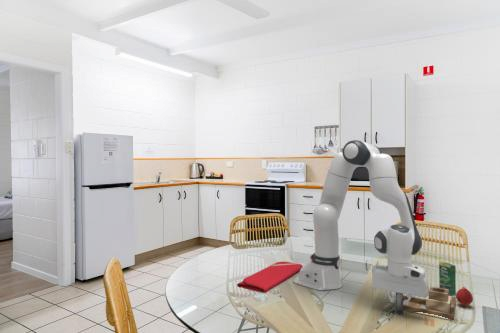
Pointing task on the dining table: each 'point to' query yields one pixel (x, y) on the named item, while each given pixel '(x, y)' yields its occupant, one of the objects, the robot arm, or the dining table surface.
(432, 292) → the crate
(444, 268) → the coffee box
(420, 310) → the bay
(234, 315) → the dining table surface
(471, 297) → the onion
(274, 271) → the red folded cloth
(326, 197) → the robot arm
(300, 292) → the dining table surface
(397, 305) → the handle peg
